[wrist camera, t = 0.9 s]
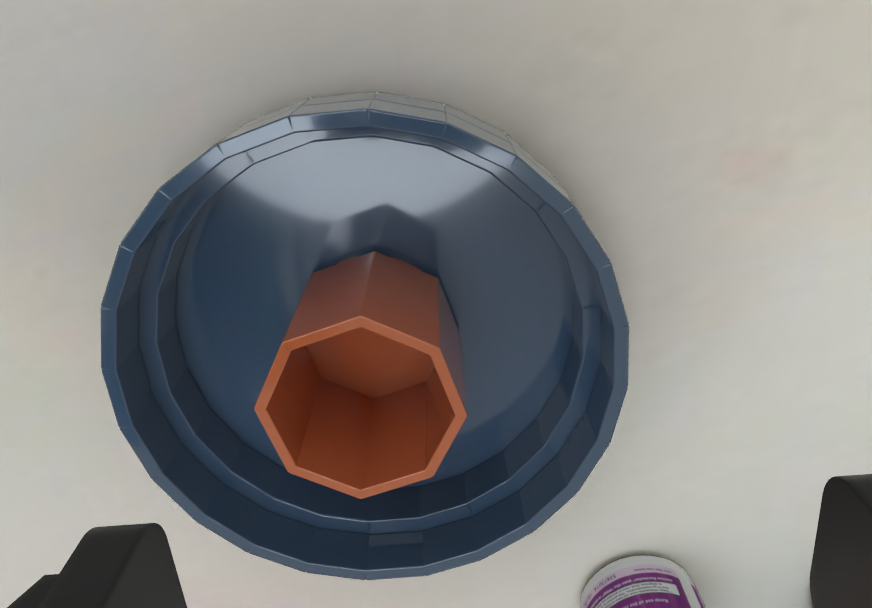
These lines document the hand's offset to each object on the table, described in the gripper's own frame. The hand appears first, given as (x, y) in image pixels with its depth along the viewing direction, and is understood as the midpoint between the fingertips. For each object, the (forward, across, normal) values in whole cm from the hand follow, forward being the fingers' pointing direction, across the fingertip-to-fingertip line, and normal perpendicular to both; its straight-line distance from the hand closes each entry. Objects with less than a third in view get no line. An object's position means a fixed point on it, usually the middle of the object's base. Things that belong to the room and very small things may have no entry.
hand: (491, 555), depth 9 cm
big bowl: (+18, +3, +5) cm, 19 cm away
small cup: (+18, +3, +5) cm, 19 cm away
